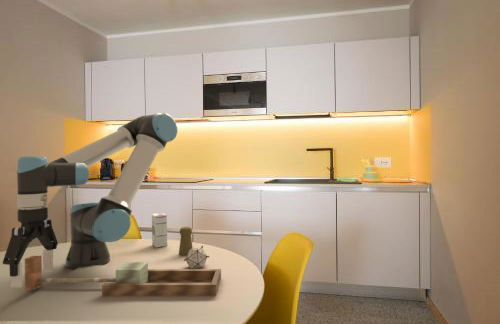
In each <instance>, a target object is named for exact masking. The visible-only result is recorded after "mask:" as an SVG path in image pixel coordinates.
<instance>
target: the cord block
mask: <svg viewBox="0 0 500 324" xmlns="http://www.w3.org/2000/svg"><path fill="white" fill-rule="evenodd" d="M148 269H149V262H147V261H146V262H145V261H144V262H143V261H142V262H141V261H139V262H138V261H136V262H135V261H133V262H132V261H131V262H130V261H128V262H124V263H123V264H121V265H120V266H119V267H117V269H115V277H62V278H61V277H49V278H47V277H45V278H44V277H43V276H42V274H43V273H42V271H43V255H30V256H28V257H26V258H24V290H36V289H38V288H39V287H42V285H43V284H44V283H147V282H148Z"/></svg>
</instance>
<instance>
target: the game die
mask: <svg viewBox="0 0 500 324" xmlns="http://www.w3.org/2000/svg"><path fill="white" fill-rule="evenodd" d="M188 248H189V252H188V254H187V255H186V258H185V259H183V261H184V262H185V261H186V264H187V265H188V267H189V269H204V267H205V264H206V262H207V258H210V256H209V255H207V254H206V252H205V251H204V246H203V245H201V247H195V248H194V247H193V248H192V249H190V247H188Z"/></svg>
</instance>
